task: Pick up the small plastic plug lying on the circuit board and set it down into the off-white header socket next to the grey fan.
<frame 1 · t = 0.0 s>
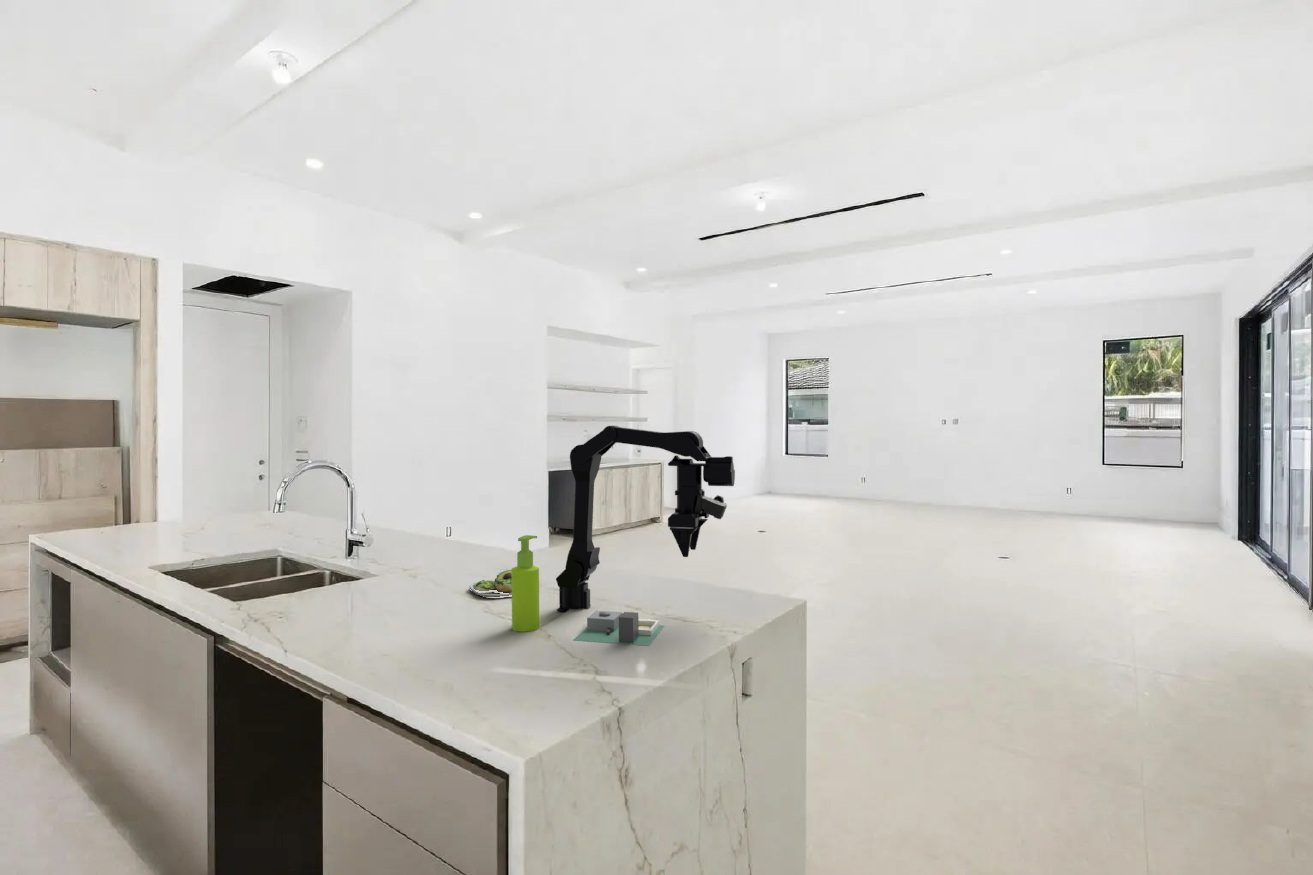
hand: (689, 553, 161), 15 cm above the countertop, tool pointing down, fingers open, 9 cm apart
salad plate: (504, 592, 187), on the countertop
soap dispenser: (526, 627, 153), on the countertop
plug: (628, 639, 142), point 1 cm above the countertop, touching board
board: (620, 636, 146), on the countertop
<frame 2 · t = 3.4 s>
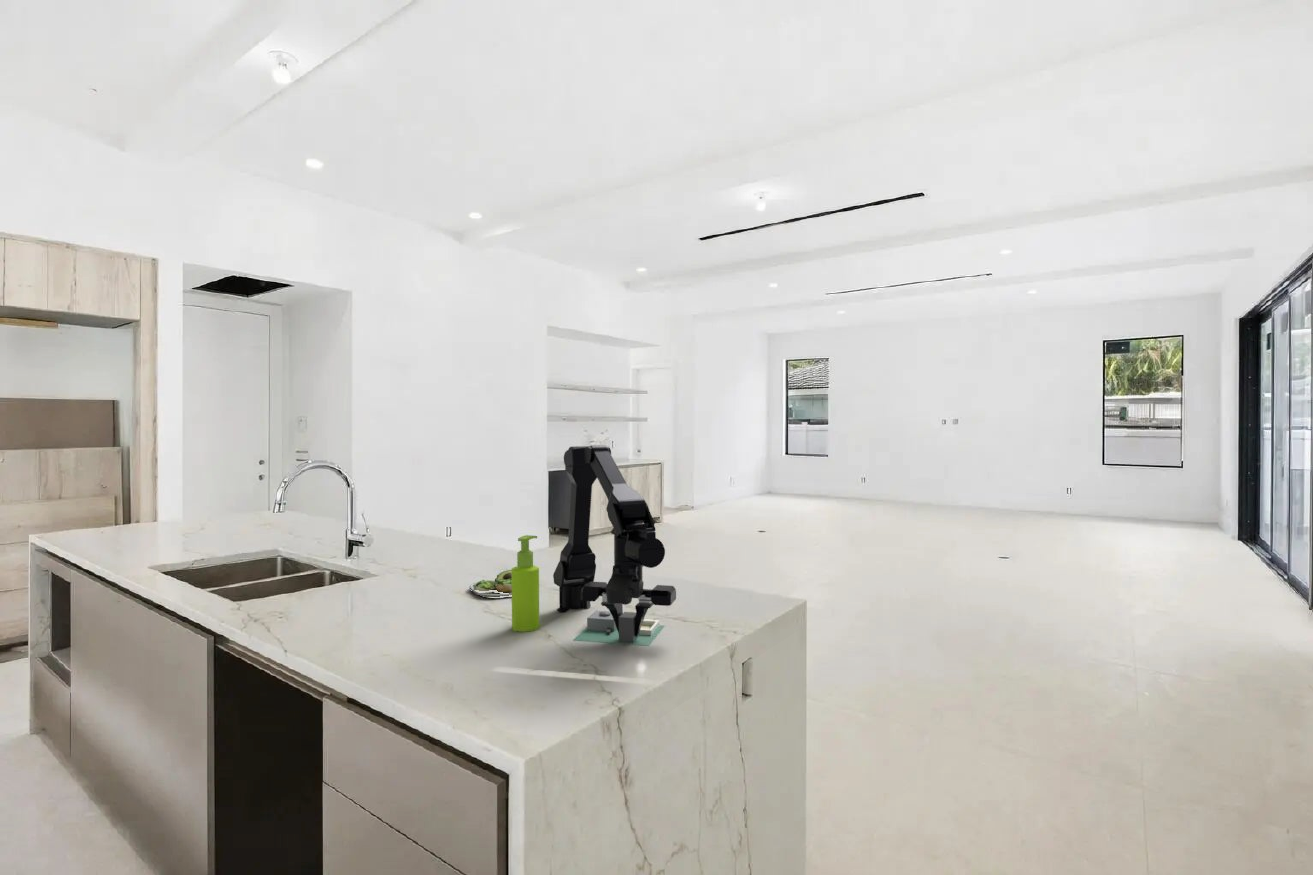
hand: (628, 635, 142), 2 cm above the countertop, tool pointing down, fingers closed on plug, 3 cm apart
plug: (628, 639, 142), point 1 cm above the countertop, touching board, gripper
everything else where it was.
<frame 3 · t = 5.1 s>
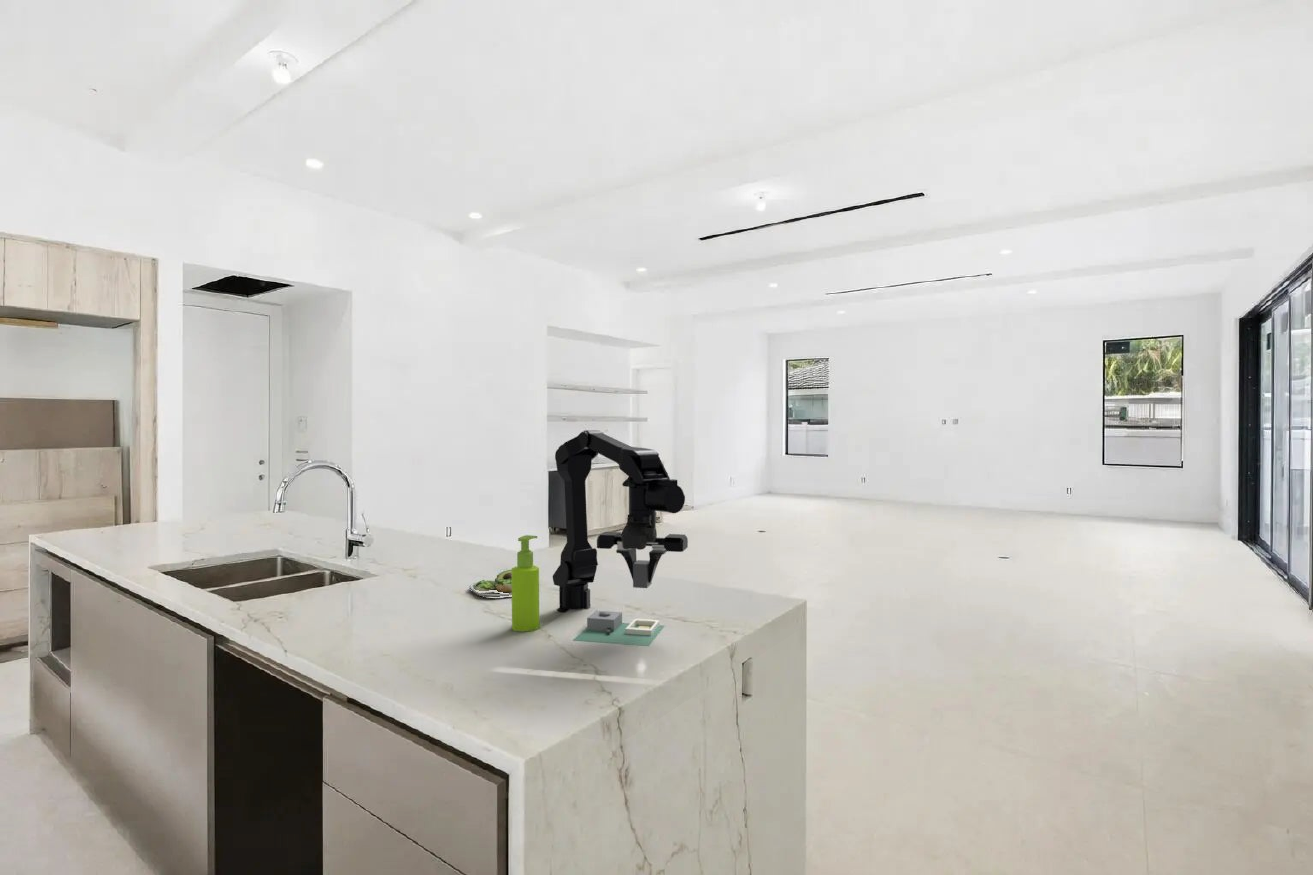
hand: (642, 581, 148), 11 cm above the countertop, tool pointing down, fingers closed on plug, 3 cm apart
plug: (642, 585, 148), point 10 cm above the countertop, touching gripper
everything else where it was.
when the fingers open (3 cm above the countertop, at t = 7.1 s): plug drops 1 cm, resting on board.
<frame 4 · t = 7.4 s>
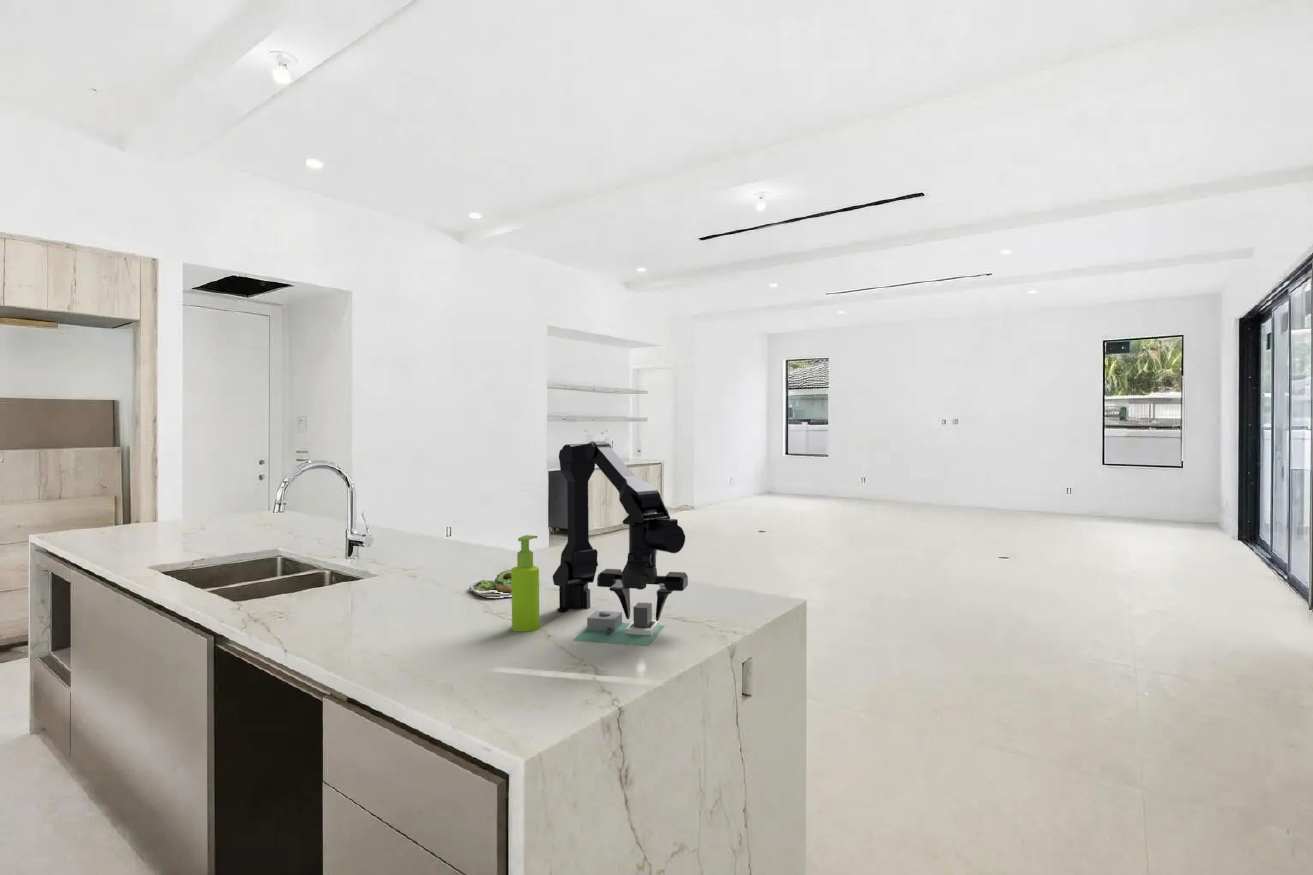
hand: (642, 619, 149), 3 cm above the countertop, tool pointing down, fingers open, 6 cm apart
plug: (642, 628, 149), point 1 cm above the countertop, touching board
everything else where it was.
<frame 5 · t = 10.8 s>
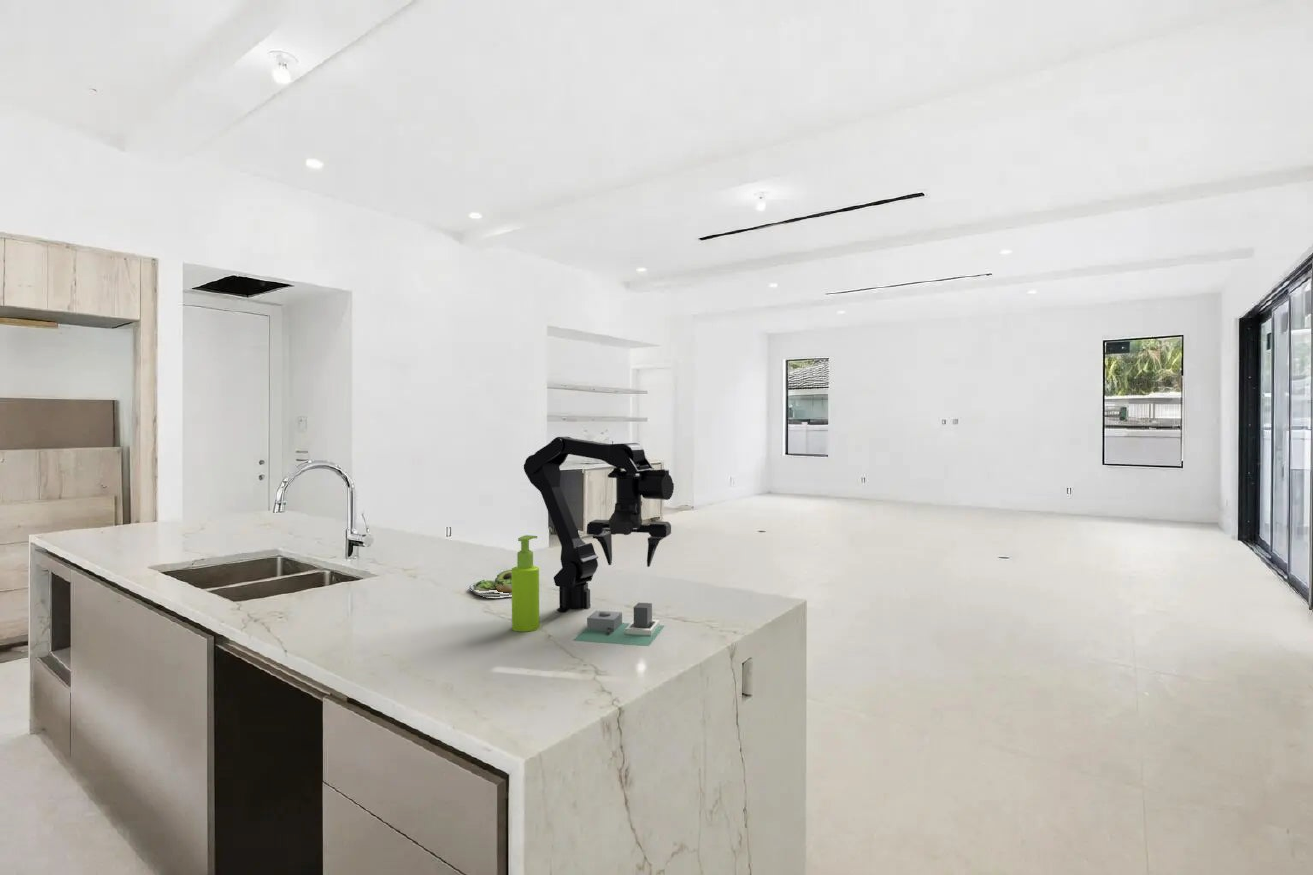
hand: (629, 565, 160), 12 cm above the countertop, tool pointing down, fingers open, 9 cm apart
nothing on the countertop moved.
at the end: plug 0.0 cm from the target spot on the board, point 0.9 cm above the board's base; plug tilted 0°; the gripper is holding nothing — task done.
